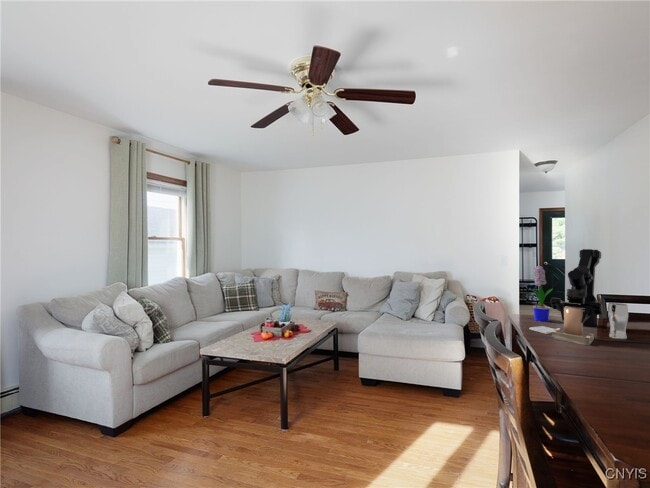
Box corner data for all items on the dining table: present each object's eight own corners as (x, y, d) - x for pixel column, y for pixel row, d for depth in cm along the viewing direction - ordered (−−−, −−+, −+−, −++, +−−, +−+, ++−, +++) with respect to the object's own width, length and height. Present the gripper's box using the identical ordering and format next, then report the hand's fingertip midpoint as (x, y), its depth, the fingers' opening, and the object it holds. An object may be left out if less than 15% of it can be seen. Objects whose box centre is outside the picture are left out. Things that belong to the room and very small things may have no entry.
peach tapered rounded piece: (566, 332, 158) (565, 306, 157) (584, 335, 153) (584, 308, 153) (562, 335, 153) (562, 308, 153) (580, 338, 148) (580, 310, 148)
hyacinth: (557, 322, 182) (557, 266, 182) (535, 321, 184) (535, 266, 184) (549, 318, 191) (549, 264, 191) (529, 318, 193) (529, 264, 193)
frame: (557, 334, 160) (557, 327, 160) (593, 340, 150) (593, 333, 150) (551, 338, 153) (551, 332, 153) (588, 345, 143) (588, 338, 143)
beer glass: (620, 335, 158) (620, 302, 157) (632, 339, 151) (632, 305, 150) (604, 335, 158) (604, 302, 158) (615, 339, 151) (615, 305, 151)
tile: (543, 327, 172) (543, 325, 172) (560, 332, 164) (560, 330, 164) (529, 329, 170) (529, 327, 170) (546, 333, 161) (546, 332, 161)
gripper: (551, 280, 162) (544, 307, 155) (601, 284, 148) (596, 313, 141) (555, 295, 167) (549, 321, 160) (604, 299, 154) (600, 329, 147)
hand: (572, 321), depth 152 cm, fingers closed on peach tapered rounded piece, 7 cm apart
